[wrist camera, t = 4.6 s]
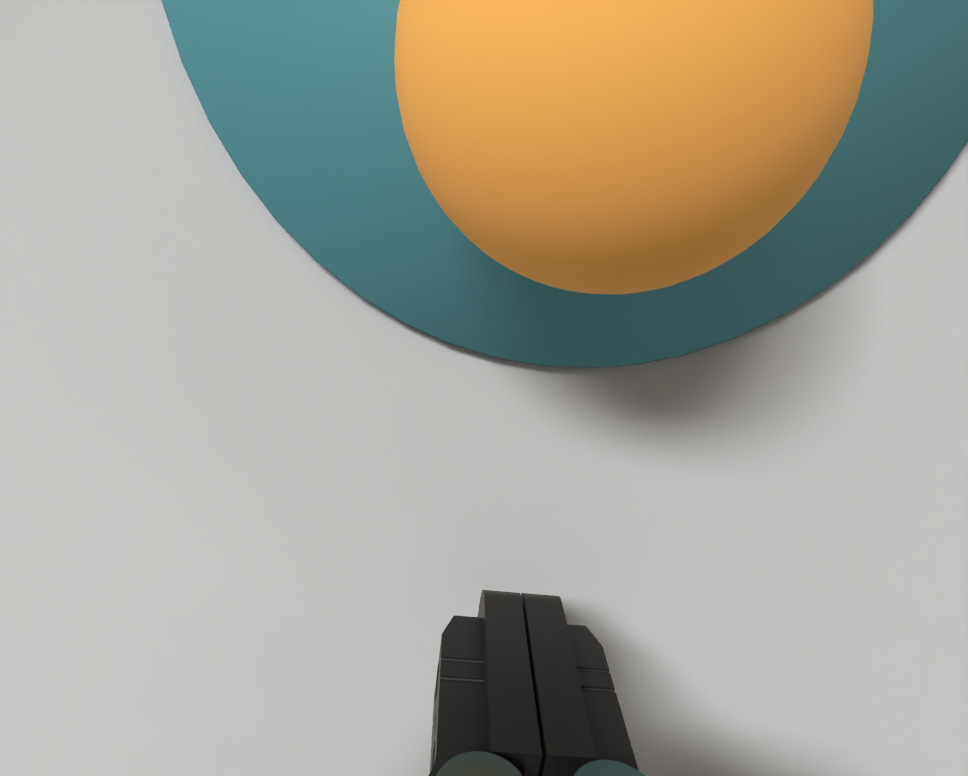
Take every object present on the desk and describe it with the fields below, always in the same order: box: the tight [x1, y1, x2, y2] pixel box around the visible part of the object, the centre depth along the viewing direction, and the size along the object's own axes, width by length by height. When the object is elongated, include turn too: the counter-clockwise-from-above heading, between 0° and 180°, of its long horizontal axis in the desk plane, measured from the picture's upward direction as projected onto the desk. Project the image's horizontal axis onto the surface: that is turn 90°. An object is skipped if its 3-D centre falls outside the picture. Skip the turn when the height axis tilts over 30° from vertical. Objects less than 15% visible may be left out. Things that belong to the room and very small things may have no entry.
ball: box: [394, 0, 873, 295], centre depth 8 cm, size 6×6×6 cm
